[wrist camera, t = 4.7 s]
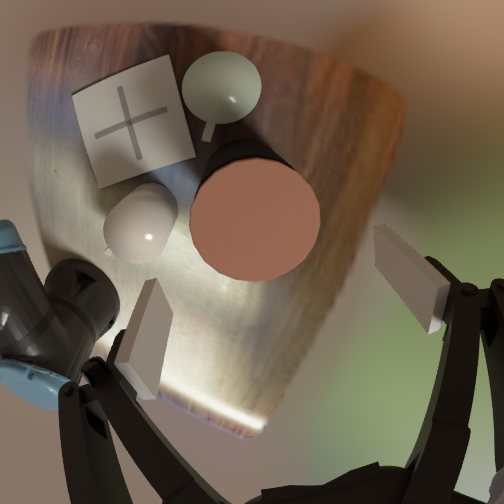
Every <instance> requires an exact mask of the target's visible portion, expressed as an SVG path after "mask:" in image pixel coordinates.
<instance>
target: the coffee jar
mask: <svg viewBox="0 0 504 504" xmlns="http://www.w3.org/2000/svg"><path fill="white" fill-rule="evenodd" d="M189 228H190V232H191V236H192V240H193V244H194V246H195V248H196V249H197V251H198V252H199V254H200V255H201V257H202V258H203V260H204V261H205V262H206V263H207V264H209V265H210V266H211V267H212V268H214V269H215V270H216V271H217V272H218V273H221V274H223V275H226V276H228V277H231V278H233V279H236V280H243V281H253V282H256V281H262V280H268V279H274V278H276V277H278V276H280V275H283V274H285V273H287V272H289V271H291V270H292V269H293V268H295V267H296V266H297V265H298V264H299V263H300V262H302V261H303V260H304V259H305V258H306V256H307V255H308V253H309V252H310V250H311V249H312V247H313V246H314V244H315V242H316V238H317V235H318V231H319V228H320V209H319V203H318V201H317V198H316V196H315V194H314V191H313V189H312V187H311V186H310V185H309V183H308V182H307V181H306V180H305V179H304V178H303V177H302V176H301V175H300V174H299V172H297V171H295V169H294V168H293V167H292V166H291V165H290V164H288V163H287V162H286V161H285V160H284V159H282V158H281V157H280V156H279V155H278V154H276V153H275V152H274V151H273V150H272V149H270V148H269V147H267V146H265V145H263V144H262V143H260V142H258V141H251V140H238V141H232V142H230V143H228V144H226V145H224V146H222V147H220V148H219V149H218V150H217V151H216V152H215V153H214V154H213V155H212V156H211V158H210V160H209V162H208V164H207V166H206V169H205V171H204V174H203V176H202V179H201V181H200V184H199V186H198V189H197V191H196V194H195V197H194V201H193V203H192V205H191V212H190V222H189Z"/></svg>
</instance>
